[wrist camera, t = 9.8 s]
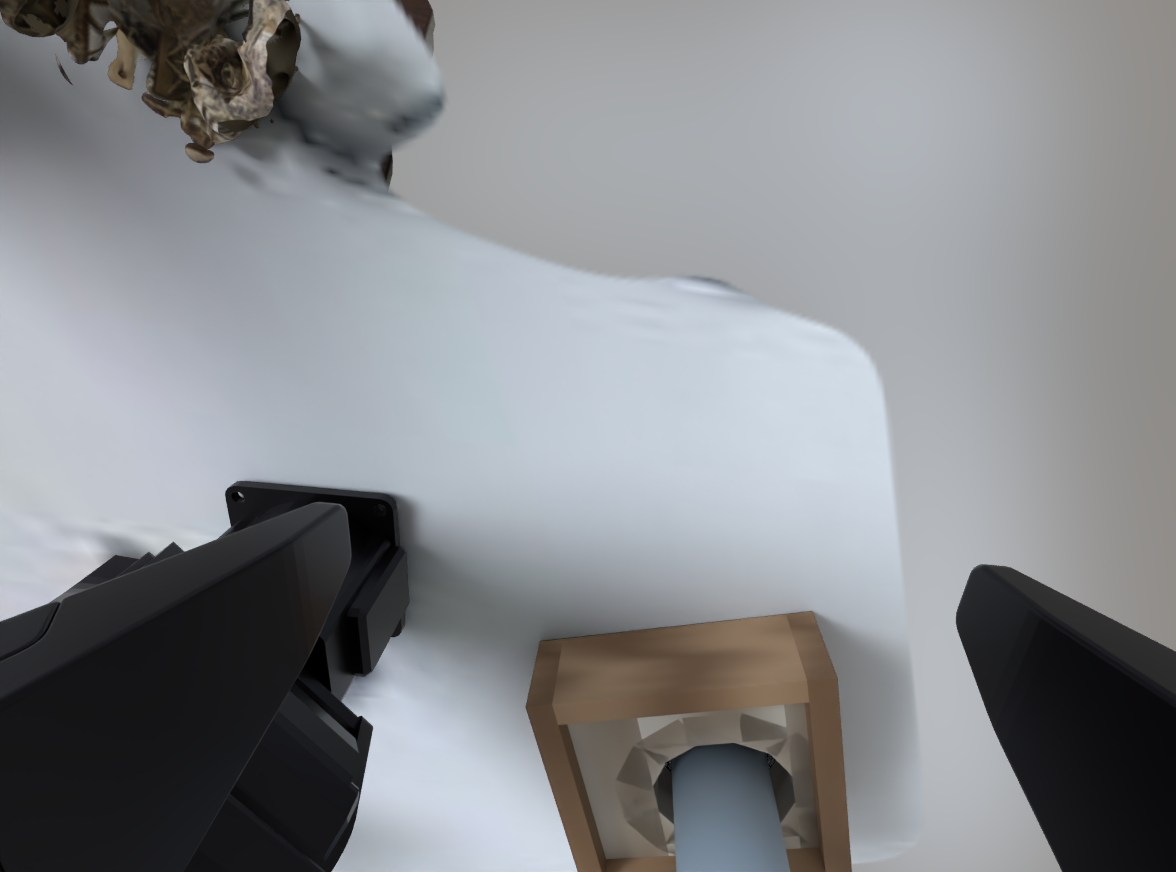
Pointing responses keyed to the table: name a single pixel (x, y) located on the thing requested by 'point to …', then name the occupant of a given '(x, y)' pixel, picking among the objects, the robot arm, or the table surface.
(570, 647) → the walnut box
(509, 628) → the table surface
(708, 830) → the peg
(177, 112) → the crumpled brown clump
